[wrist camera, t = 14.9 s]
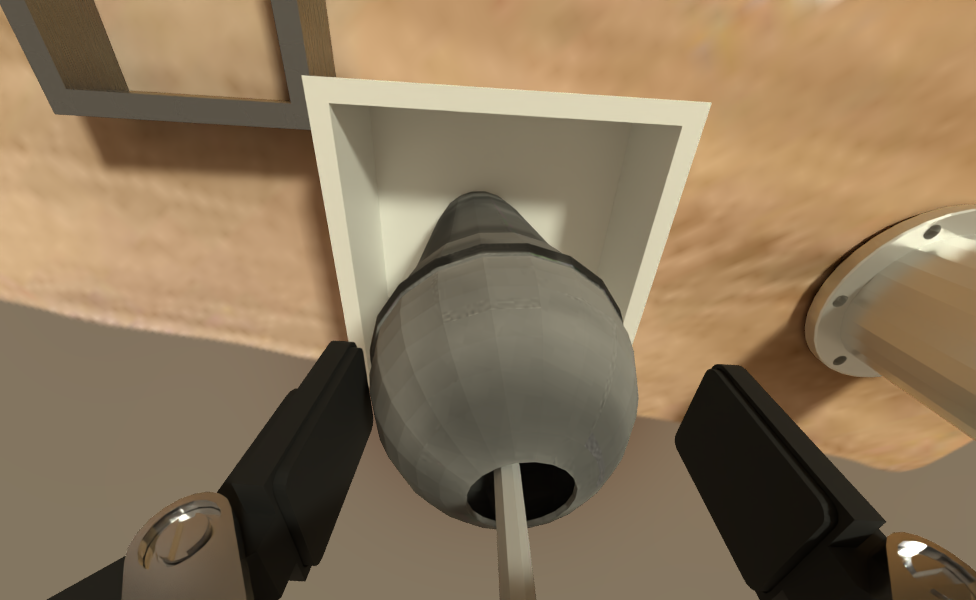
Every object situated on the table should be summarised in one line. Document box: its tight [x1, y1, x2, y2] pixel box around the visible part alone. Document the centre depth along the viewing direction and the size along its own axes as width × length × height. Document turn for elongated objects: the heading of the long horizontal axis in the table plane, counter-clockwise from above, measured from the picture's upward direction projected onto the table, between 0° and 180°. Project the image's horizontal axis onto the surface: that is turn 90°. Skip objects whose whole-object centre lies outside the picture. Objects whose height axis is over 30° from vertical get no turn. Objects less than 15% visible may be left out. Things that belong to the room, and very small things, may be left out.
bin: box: [301, 75, 711, 387], centre depth 19 cm, size 15×15×6 cm
